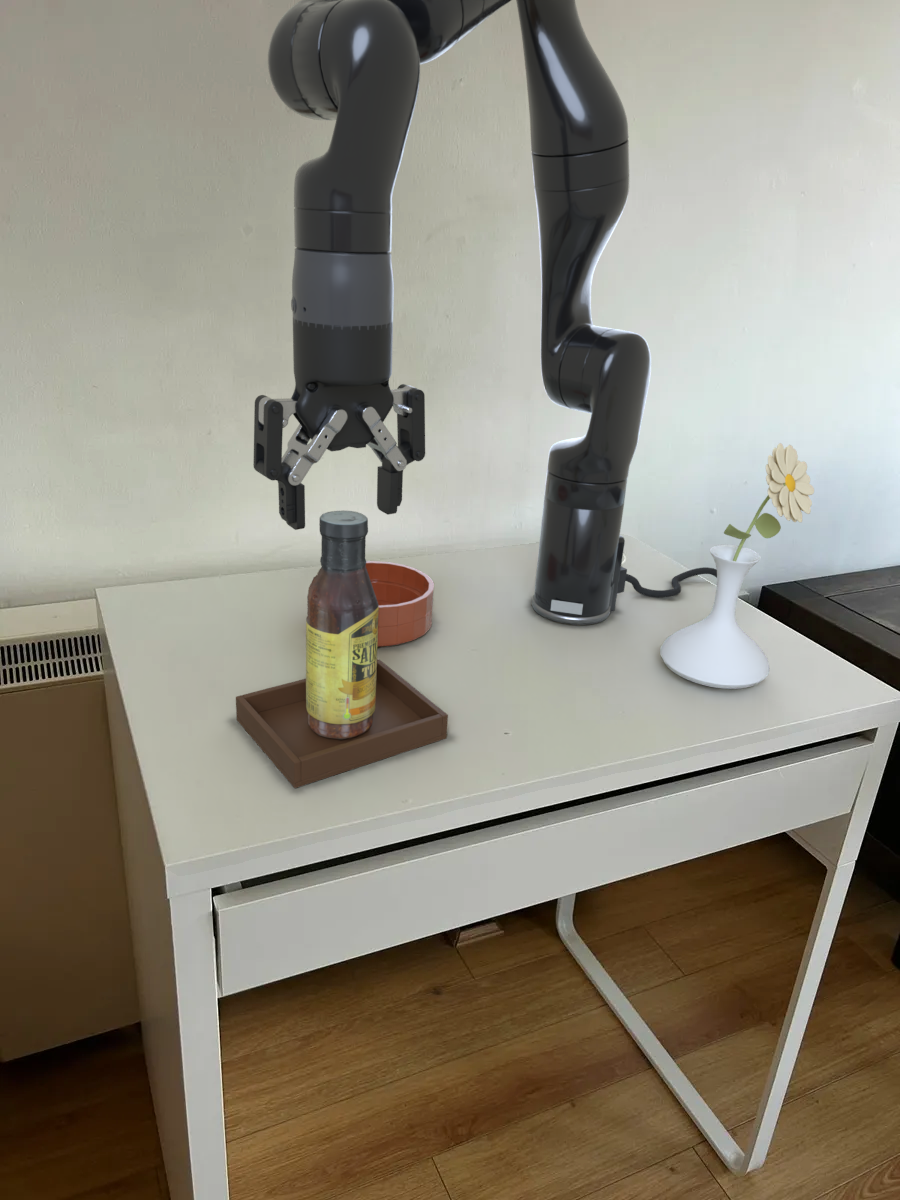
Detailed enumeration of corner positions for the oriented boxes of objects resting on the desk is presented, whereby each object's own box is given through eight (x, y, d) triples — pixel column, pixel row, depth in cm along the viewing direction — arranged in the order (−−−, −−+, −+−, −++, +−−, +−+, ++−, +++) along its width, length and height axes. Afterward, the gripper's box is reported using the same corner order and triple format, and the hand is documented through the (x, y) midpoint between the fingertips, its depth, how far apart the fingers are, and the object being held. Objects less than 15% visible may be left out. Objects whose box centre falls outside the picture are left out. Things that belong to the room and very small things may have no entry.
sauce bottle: (363, 748, 79) (368, 535, 71) (296, 737, 80) (292, 525, 72) (383, 711, 85) (389, 510, 77) (320, 701, 86) (319, 502, 78)
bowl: (393, 591, 112) (394, 554, 110) (454, 633, 102) (456, 593, 100) (296, 612, 105) (295, 573, 103) (351, 659, 95) (352, 616, 93)
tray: (378, 680, 91) (379, 658, 90) (446, 738, 82) (448, 714, 81) (236, 719, 83) (235, 696, 82) (294, 788, 74) (294, 763, 73)
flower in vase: (699, 706, 90) (747, 463, 80) (637, 655, 100) (673, 432, 89) (802, 688, 95) (859, 457, 85) (733, 641, 104) (777, 428, 94)
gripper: (276, 324, 61) (282, 548, 68) (449, 318, 69) (439, 519, 75) (233, 310, 67) (243, 518, 73) (397, 306, 74) (392, 494, 81)
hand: (342, 518), depth 74 cm, fingers open, 8 cm apart
